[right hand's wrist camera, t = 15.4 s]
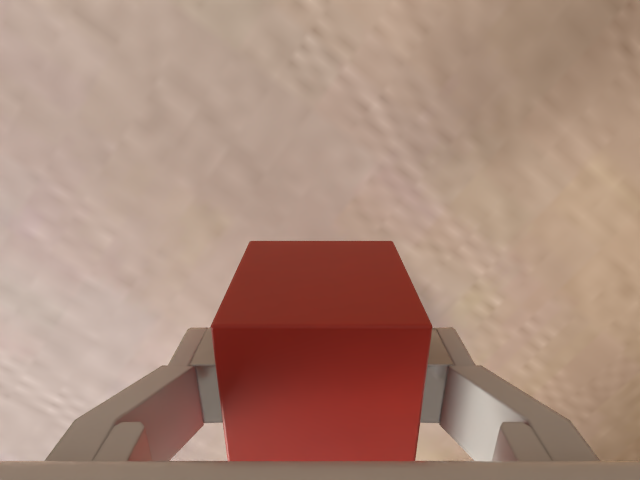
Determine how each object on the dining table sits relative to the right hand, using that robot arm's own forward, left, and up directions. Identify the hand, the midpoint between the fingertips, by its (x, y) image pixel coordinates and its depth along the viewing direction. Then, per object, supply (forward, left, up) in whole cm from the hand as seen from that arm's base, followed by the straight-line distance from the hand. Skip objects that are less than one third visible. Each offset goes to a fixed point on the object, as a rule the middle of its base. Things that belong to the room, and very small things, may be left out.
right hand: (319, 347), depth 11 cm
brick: (0, 0, -2) cm, 2 cm away
